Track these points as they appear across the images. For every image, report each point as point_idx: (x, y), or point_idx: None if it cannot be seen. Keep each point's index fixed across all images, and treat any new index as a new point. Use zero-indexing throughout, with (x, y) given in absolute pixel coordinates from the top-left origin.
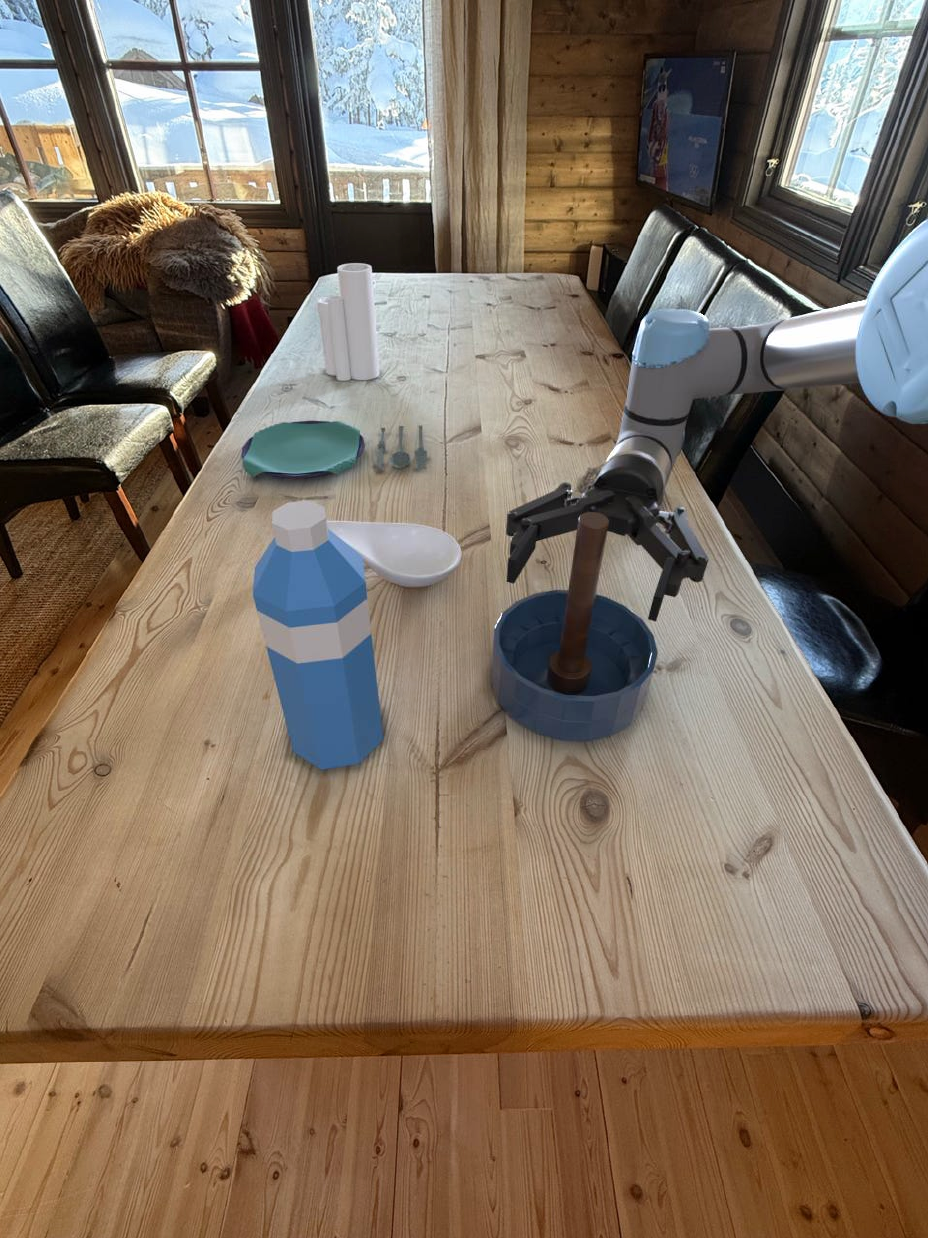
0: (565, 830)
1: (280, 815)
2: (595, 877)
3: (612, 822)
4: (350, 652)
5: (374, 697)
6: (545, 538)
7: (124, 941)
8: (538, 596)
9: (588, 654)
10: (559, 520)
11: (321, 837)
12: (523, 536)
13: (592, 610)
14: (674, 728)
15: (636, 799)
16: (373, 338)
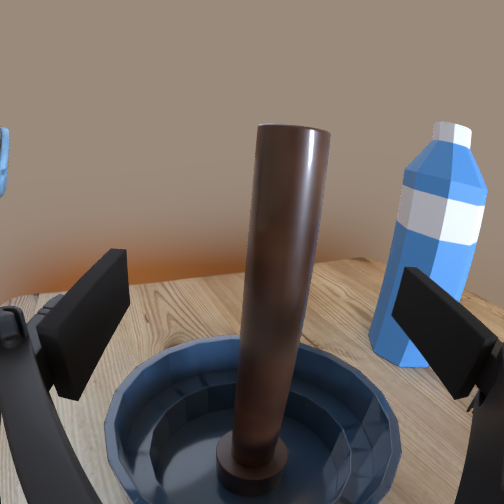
0: (196, 336)
1: (372, 305)
2: (169, 318)
3: (159, 346)
4: (398, 223)
5: (388, 297)
6: (470, 432)
7: (365, 269)
8: (380, 485)
9: None
10: (495, 424)
11: (342, 303)
12: (463, 307)
13: (238, 354)
14: (90, 439)
15: (139, 364)
16: None
